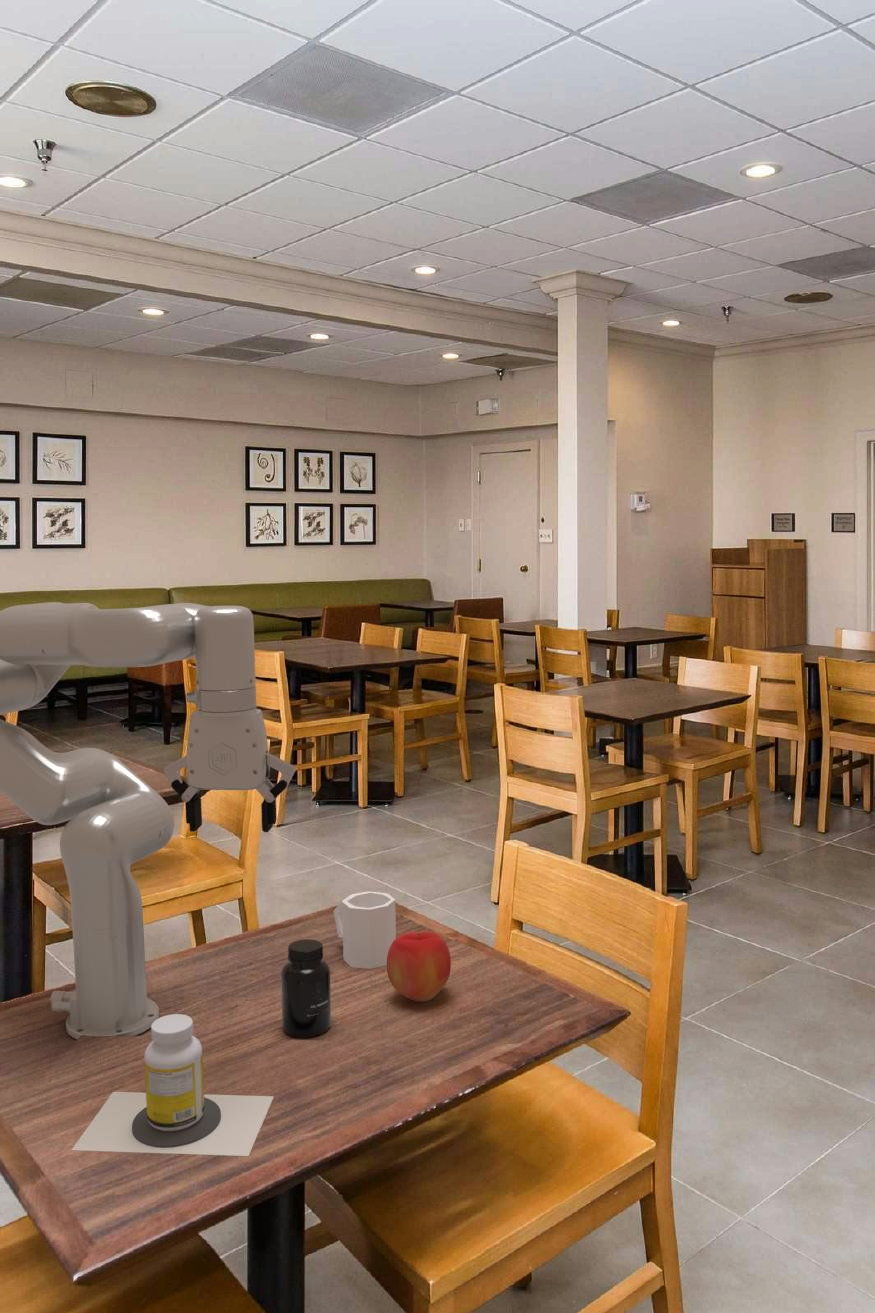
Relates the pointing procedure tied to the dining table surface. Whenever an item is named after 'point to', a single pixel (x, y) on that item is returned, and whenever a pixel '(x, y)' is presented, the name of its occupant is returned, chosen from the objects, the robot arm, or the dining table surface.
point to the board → (227, 1139)
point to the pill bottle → (174, 1074)
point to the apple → (418, 965)
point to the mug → (366, 928)
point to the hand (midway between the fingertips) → (231, 829)
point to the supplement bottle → (306, 990)
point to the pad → (179, 1137)
